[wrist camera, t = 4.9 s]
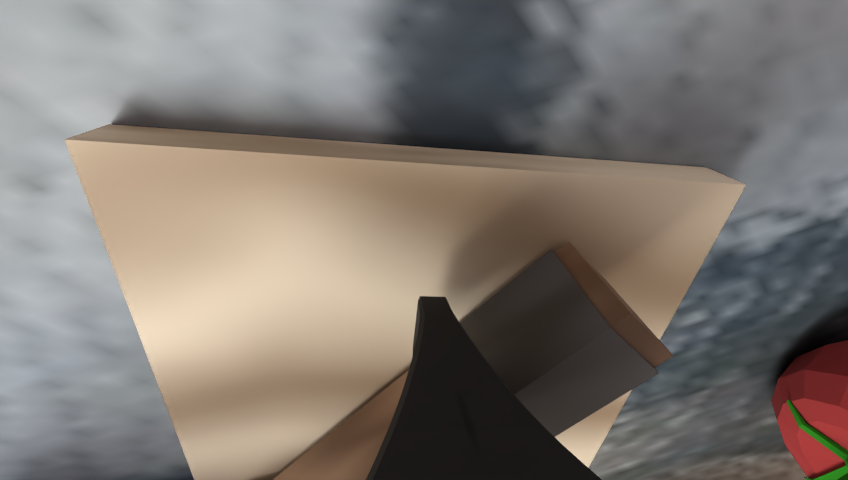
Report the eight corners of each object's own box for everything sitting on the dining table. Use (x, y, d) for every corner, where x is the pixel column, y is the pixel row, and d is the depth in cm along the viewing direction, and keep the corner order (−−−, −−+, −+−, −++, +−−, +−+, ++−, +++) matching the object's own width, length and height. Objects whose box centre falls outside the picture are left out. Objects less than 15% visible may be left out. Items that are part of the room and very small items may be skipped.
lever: (285, 525, 17) (265, 627, 14) (219, 505, 15) (181, 613, 13) (613, 287, 11) (690, 373, 9) (554, 226, 10) (621, 305, 7)
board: (552, 481, 20) (597, 603, 16) (226, 496, 18) (176, 642, 14) (705, 167, 11) (898, 250, 7) (109, 124, 9) (-129, 205, 5)
